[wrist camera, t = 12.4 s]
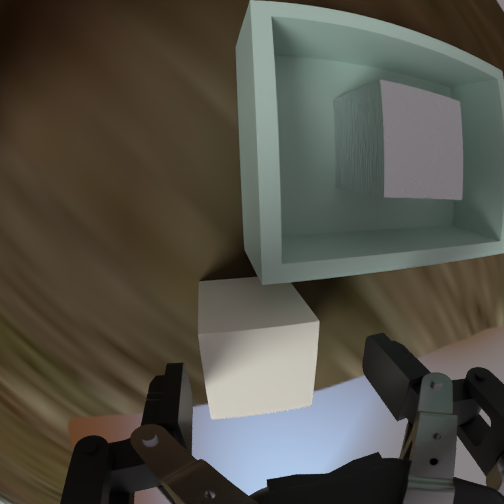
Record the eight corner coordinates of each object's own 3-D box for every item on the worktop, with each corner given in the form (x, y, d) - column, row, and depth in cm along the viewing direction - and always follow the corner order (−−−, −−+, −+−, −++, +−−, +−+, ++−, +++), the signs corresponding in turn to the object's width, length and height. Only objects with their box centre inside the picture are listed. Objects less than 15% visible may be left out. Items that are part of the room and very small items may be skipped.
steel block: (333, 100, 15) (380, 79, 10) (404, 111, 16) (459, 101, 11) (335, 188, 16) (383, 197, 12) (406, 189, 17) (462, 200, 12)
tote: (244, 249, 17) (262, 285, 12) (235, 47, 14) (250, 0, 9) (451, 233, 19) (504, 252, 14) (448, 81, 16) (502, 70, 11)
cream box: (207, 353, 19) (211, 419, 13) (199, 281, 17) (197, 334, 12) (283, 345, 19) (311, 405, 14) (284, 274, 18) (319, 321, 12)
